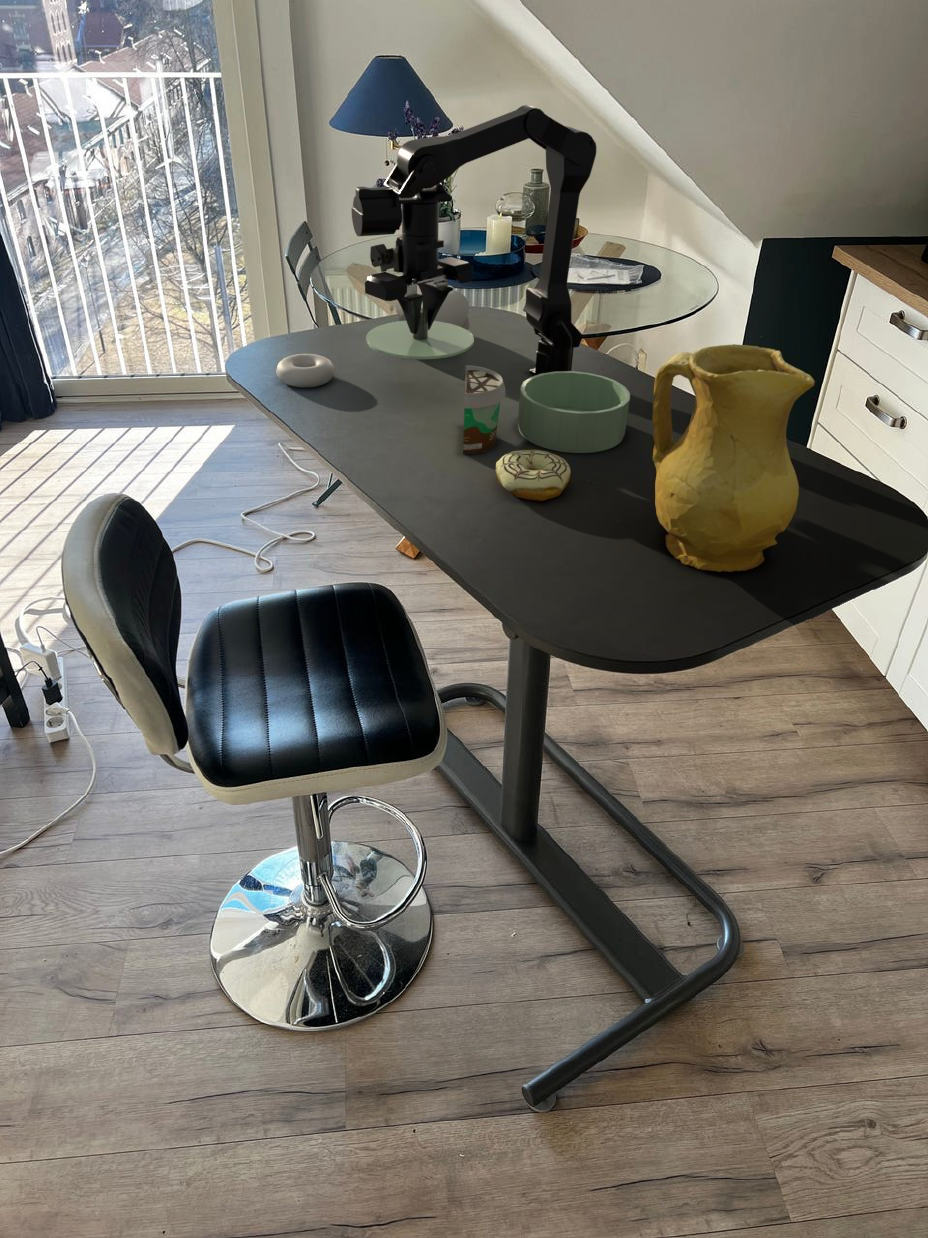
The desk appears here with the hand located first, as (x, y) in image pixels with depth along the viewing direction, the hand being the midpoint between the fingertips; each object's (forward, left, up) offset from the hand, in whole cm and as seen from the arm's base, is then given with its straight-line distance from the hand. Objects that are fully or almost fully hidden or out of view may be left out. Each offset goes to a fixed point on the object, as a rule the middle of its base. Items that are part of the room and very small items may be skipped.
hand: (420, 331), depth 152 cm
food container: (+6, +22, -10) cm, 25 cm away
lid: (0, 0, -2) cm, 2 cm away
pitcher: (+5, +63, -10) cm, 64 cm away
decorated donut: (+11, +37, -10) cm, 40 cm away
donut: (+12, -16, -10) cm, 23 cm away
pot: (-8, +28, -10) cm, 31 cm away
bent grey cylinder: (-18, -18, -10) cm, 28 cm away
